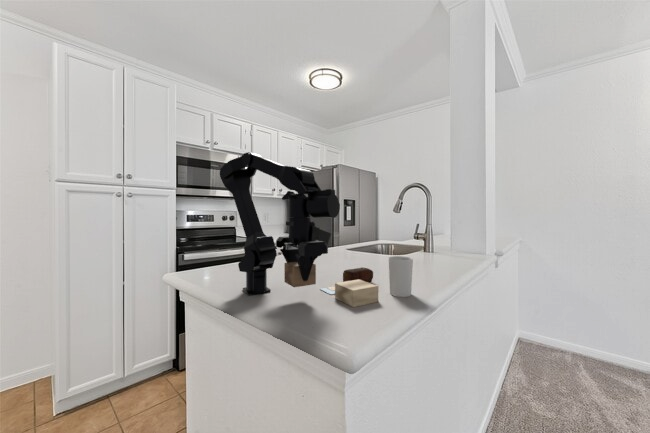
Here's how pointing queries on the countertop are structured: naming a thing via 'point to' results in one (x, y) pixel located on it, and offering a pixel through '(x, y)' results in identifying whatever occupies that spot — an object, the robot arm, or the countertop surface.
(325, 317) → the countertop surface
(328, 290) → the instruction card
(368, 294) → the base block
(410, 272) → the drinking glass
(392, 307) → the countertop surface
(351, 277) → the brick
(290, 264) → the walnut block
